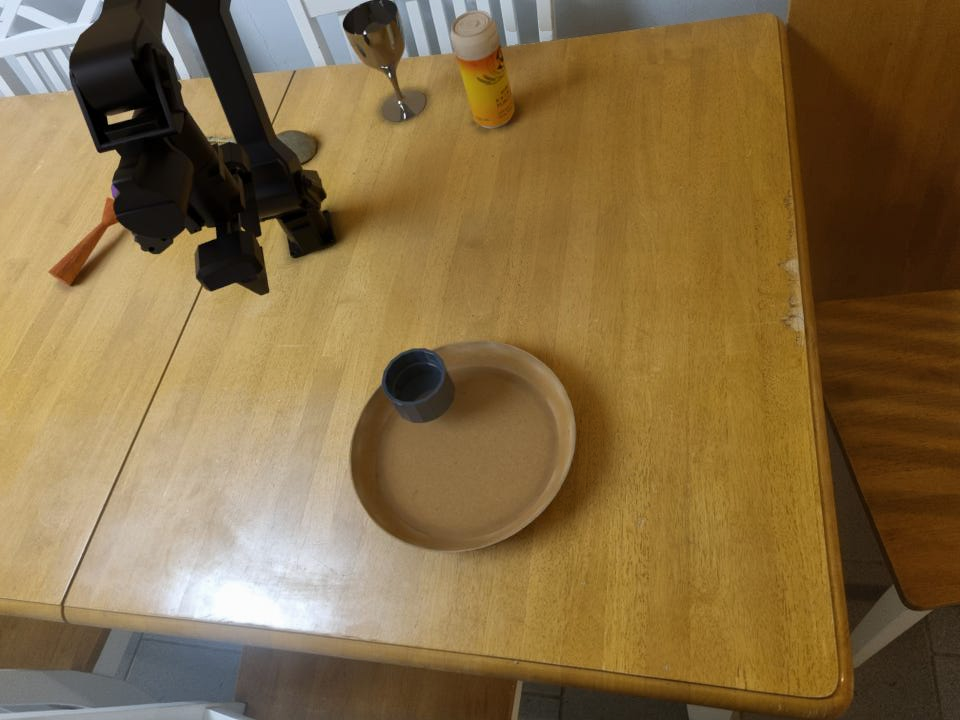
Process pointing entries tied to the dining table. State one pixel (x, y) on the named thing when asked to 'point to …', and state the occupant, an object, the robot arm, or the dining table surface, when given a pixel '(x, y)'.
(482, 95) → the beer can
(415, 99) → the wine glass
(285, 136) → the soupspoon
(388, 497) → the plant saucer
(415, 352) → the bowl
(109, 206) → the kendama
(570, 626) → the dining table surface
